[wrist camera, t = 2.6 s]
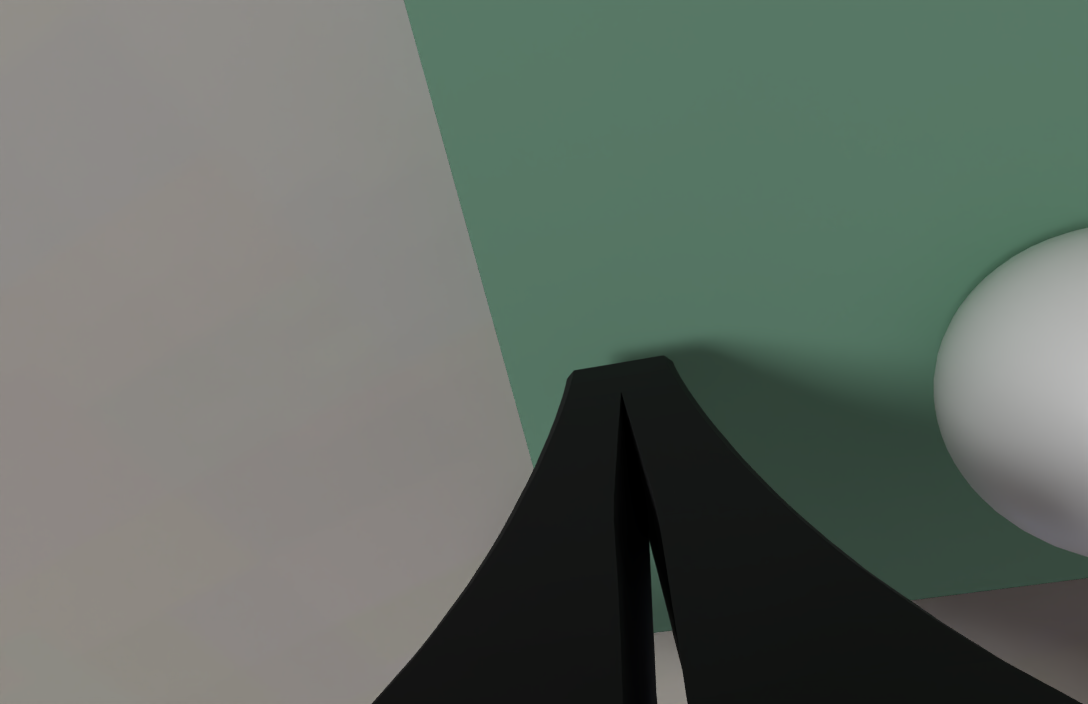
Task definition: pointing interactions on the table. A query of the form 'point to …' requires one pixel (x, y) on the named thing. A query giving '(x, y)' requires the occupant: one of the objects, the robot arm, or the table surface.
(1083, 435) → the ball
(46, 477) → the table surface
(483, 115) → the putting deck
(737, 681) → the robot arm
